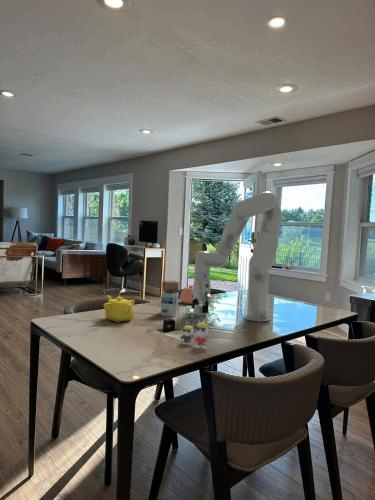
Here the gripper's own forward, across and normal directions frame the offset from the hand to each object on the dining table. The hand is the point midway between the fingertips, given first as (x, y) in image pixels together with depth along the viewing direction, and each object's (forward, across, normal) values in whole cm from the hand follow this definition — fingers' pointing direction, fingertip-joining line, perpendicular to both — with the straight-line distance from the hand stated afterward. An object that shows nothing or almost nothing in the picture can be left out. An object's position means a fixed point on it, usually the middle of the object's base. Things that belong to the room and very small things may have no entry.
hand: (199, 310), depth 177 cm
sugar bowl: (+2, +27, -9) cm, 28 cm away
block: (-9, +6, +14) cm, 18 cm away
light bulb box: (+2, +6, +14) cm, 15 cm away
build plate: (+3, -20, +26) cm, 33 cm away
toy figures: (+2, -41, +26) cm, 49 cm away
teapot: (+2, +2, +41) cm, 41 cm away
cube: (+2, 0, 0) cm, 2 cm away
